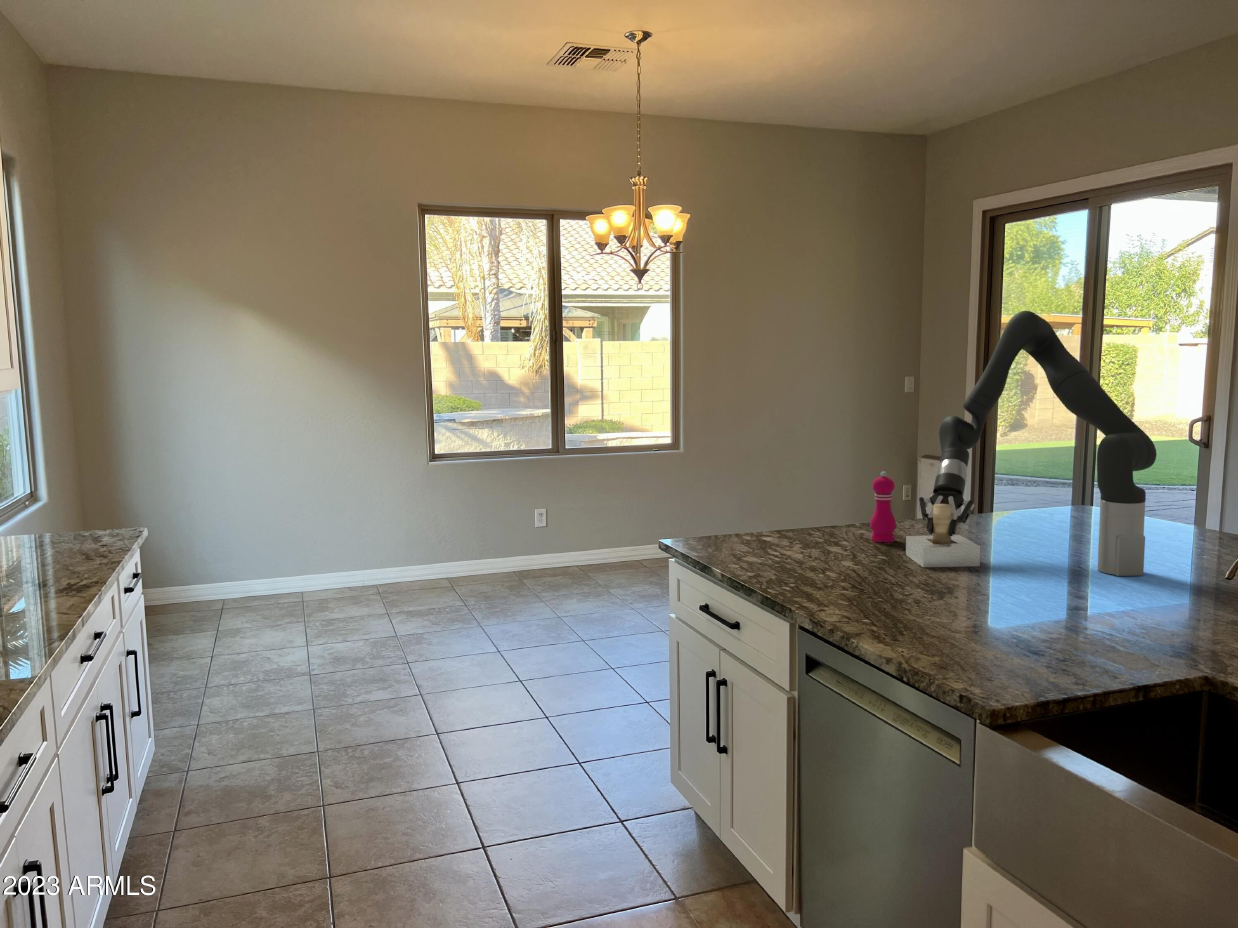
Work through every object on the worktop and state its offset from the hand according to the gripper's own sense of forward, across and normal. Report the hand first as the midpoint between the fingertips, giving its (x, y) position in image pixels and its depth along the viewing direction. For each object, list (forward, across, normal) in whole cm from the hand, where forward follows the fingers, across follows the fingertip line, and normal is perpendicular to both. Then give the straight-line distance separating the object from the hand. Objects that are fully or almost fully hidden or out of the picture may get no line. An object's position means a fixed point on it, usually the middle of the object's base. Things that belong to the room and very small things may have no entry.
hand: (940, 533), depth 219 cm
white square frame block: (+4, 0, +6) cm, 8 cm away
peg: (+3, 0, +6) cm, 6 cm away
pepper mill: (-8, -19, +19) cm, 29 cm away
